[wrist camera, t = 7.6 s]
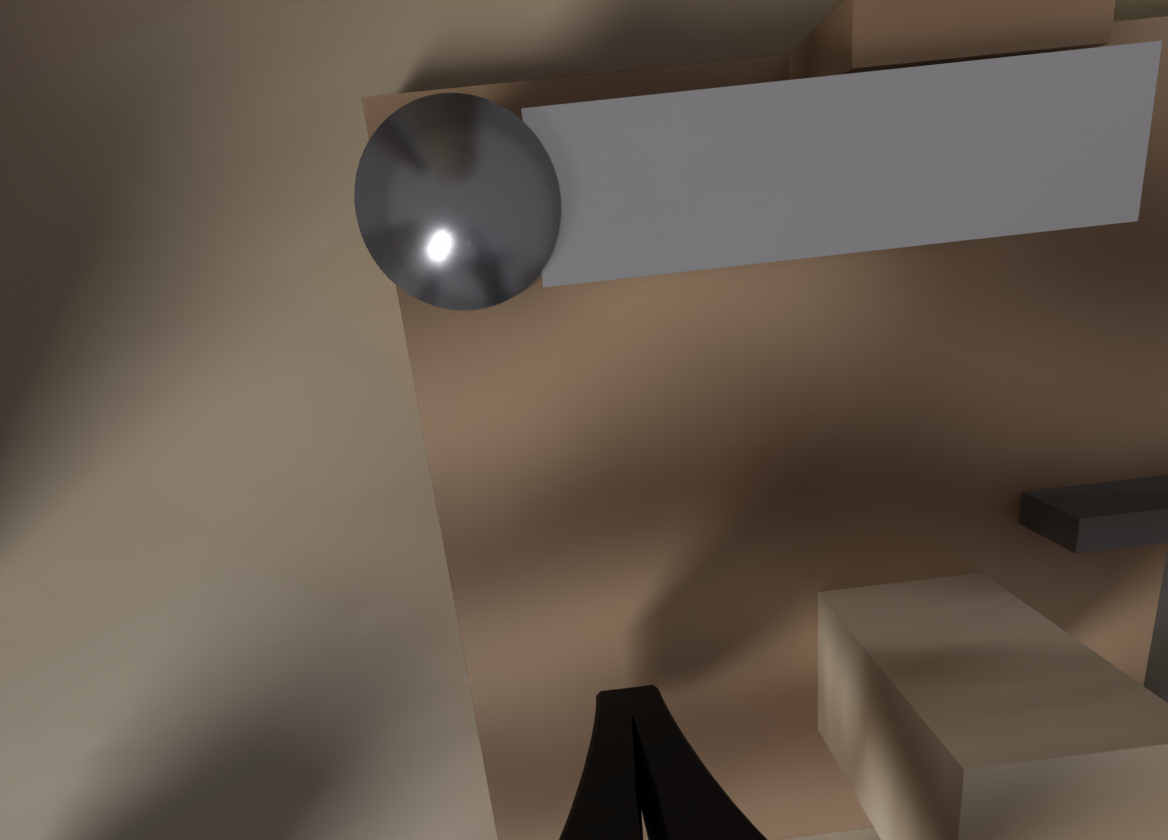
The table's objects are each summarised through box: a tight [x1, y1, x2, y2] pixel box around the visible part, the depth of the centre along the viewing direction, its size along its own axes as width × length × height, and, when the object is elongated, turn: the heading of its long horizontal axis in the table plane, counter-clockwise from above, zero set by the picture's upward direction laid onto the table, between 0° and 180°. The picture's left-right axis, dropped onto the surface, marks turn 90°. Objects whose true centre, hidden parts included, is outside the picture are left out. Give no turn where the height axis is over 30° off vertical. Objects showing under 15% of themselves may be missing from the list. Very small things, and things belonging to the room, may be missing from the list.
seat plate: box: [362, 0, 1168, 840], centre depth 12 cm, size 19×18×4 cm
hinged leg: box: [355, 41, 1162, 311], centre depth 9 cm, size 11×3×3 cm, turn 96°
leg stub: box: [818, 573, 1168, 840], centre depth 12 cm, size 4×4×5 cm
